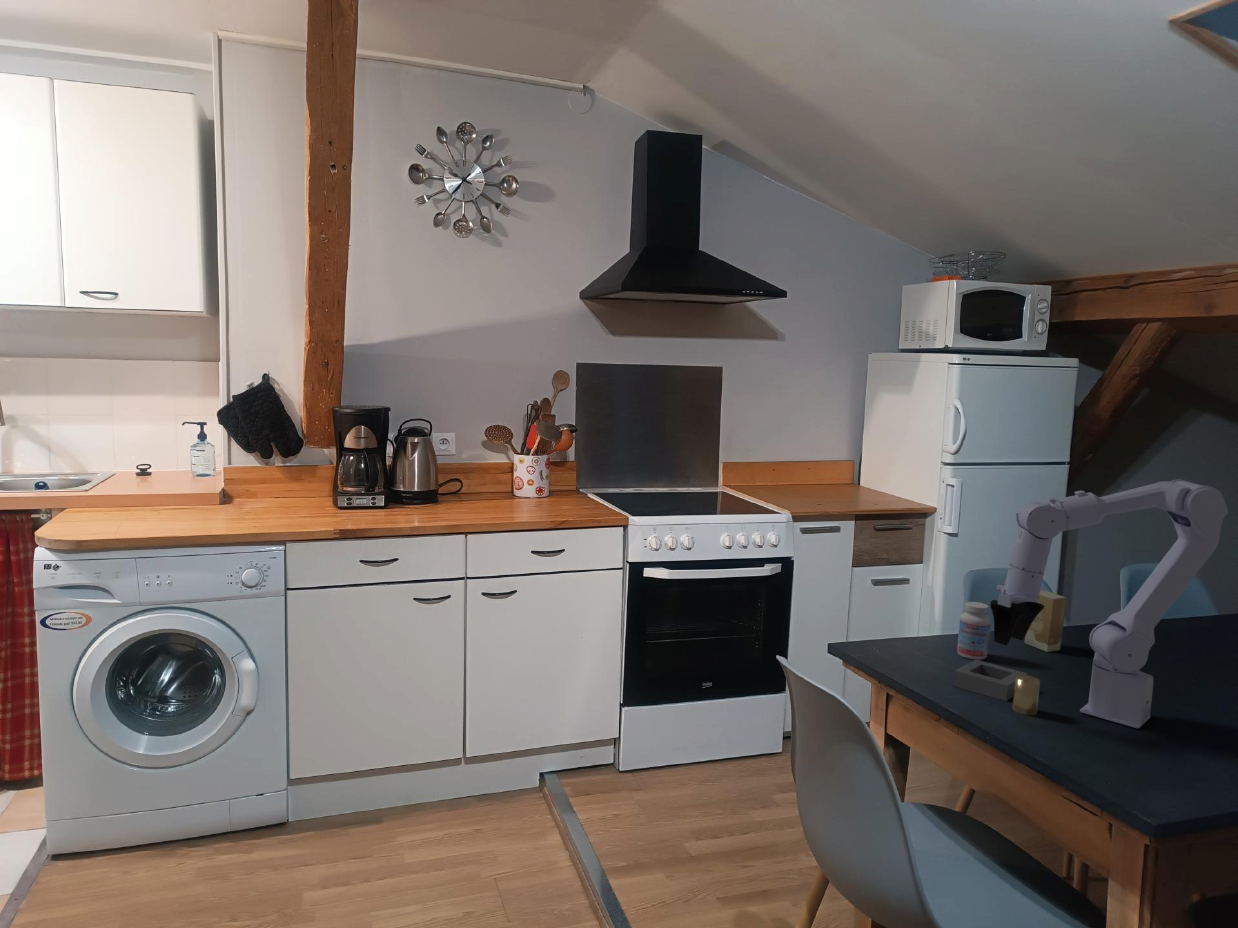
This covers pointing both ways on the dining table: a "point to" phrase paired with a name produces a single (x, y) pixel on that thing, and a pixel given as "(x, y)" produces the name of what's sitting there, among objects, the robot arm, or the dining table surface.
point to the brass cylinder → (1026, 695)
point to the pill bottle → (974, 631)
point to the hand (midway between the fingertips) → (1008, 640)
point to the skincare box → (1048, 623)
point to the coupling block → (987, 679)
